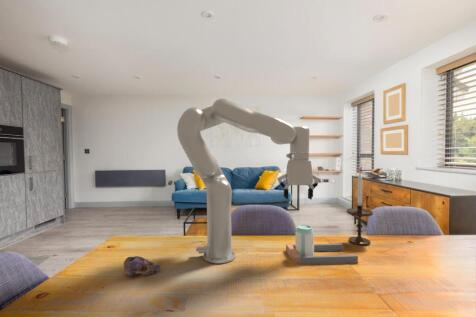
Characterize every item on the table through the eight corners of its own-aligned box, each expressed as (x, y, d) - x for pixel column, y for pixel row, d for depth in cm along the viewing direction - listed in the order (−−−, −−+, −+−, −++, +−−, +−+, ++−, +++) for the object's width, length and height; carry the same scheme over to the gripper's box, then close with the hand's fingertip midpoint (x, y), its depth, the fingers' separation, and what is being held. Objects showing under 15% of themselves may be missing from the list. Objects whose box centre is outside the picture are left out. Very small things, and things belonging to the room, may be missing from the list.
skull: (162, 267, 90) (162, 251, 90) (157, 278, 82) (157, 260, 82) (128, 269, 89) (127, 252, 89) (120, 280, 81) (119, 262, 81)
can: (297, 251, 103) (297, 223, 103) (315, 255, 100) (315, 225, 100) (293, 258, 97) (293, 228, 97) (312, 262, 94) (312, 230, 94)
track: (294, 264, 92) (294, 256, 92) (286, 250, 105) (286, 243, 105) (357, 262, 93) (358, 254, 93) (341, 249, 106) (341, 242, 106)
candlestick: (367, 238, 119) (368, 165, 118) (376, 247, 108) (377, 167, 107) (343, 237, 120) (344, 165, 119) (349, 245, 110) (350, 166, 109)
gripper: (279, 156, 98) (278, 200, 98) (323, 157, 98) (322, 200, 98) (276, 156, 105) (275, 196, 106) (317, 157, 105) (316, 197, 106)
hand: (298, 198), depth 102 cm, fingers open, 9 cm apart
